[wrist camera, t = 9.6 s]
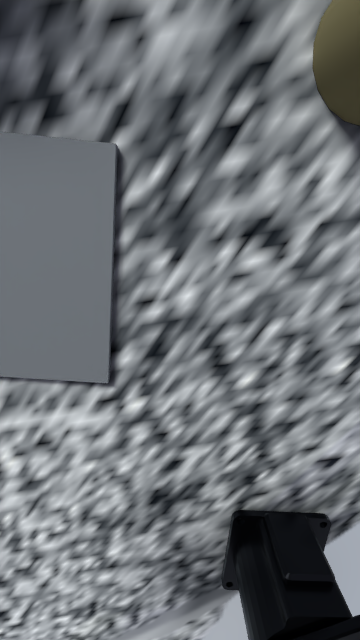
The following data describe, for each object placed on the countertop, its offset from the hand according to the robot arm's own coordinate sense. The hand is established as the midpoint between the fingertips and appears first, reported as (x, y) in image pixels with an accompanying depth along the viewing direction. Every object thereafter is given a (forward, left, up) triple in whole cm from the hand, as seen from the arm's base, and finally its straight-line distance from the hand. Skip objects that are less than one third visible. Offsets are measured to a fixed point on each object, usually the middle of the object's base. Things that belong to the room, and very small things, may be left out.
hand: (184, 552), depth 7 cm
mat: (+4, +7, -12) cm, 15 cm away
